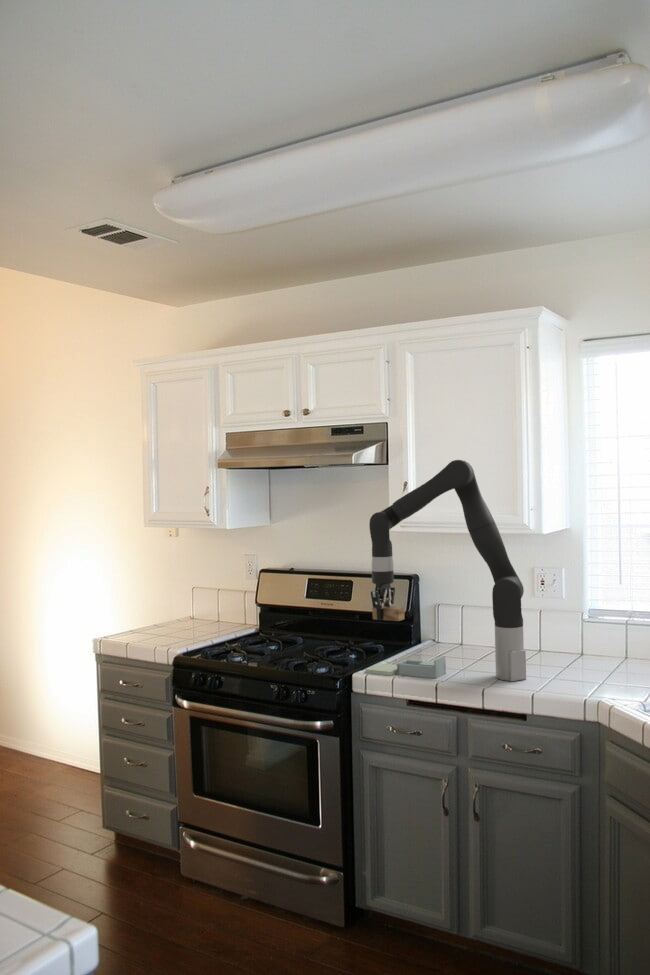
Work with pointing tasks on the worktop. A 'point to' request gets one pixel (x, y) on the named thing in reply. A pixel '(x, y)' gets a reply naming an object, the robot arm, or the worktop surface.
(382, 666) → the plate
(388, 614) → the walnut bar
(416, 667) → the pale blue tray
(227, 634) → the worktop surface
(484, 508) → the robot arm
